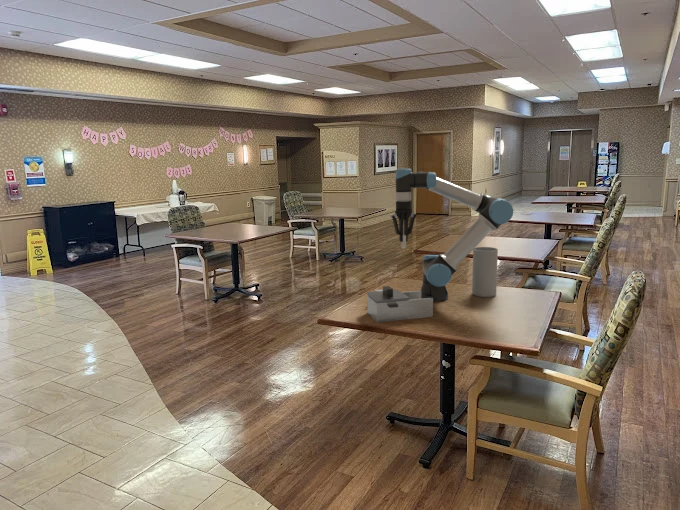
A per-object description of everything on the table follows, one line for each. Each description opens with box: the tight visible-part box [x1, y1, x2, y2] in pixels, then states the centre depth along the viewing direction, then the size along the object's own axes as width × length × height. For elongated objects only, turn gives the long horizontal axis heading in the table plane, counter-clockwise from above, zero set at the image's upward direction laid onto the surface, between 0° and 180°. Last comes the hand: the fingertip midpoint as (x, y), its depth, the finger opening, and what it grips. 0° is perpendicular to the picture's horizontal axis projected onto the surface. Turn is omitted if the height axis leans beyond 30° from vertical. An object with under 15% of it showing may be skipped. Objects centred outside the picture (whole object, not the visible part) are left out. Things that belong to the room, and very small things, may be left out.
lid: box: [366, 285, 410, 303], centre depth 244 cm, size 16×16×4 cm
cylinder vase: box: [471, 246, 499, 298], centre depth 277 cm, size 12×12×25 cm
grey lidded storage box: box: [366, 289, 434, 323], centre depth 247 cm, size 28×19×9 cm
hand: (403, 248), depth 258 cm, fingers closed
